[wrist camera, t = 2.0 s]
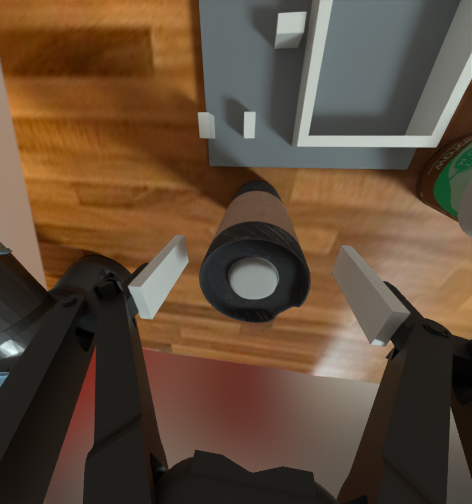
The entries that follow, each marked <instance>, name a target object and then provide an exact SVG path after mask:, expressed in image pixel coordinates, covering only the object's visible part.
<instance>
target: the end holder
mask: <svg viewBox="0 0 472 504" xmlns="http://www.w3.org/2000/svg"><path fill="white" fill-rule="evenodd" d="M332 3H333V0H312V7H311V14H310V21H309V28H308V35H307V42H306V48H305V55H304V62H303V69H302V76H301V83H300V90H299V97H298V104H297V111H296V118H295V125H294V132H293V139H292V146H297V147H437V146H438V144H439V142H440V140H441V138H442V136H443V134H444V132H445V130H446V128H447V126H448V124H449V122H450V120H451V118H452V116H453V114H454V112H455V110H456V108H457V106H458V104H459V102H460V100H461V98H462V96H463V94H464V92H465V91H466V89H467V87H468V85H469V83H470V81H471V79H472V0H461V1H460V4H459V6H458V8H457V11H456V13H455V16H454V18H453V20H452V23H451V25H450V28H449V30H448V32H447V35H446V37H445V40H444V42H443V44H442V47H441V49H440V52H439V54H438V57H437V59H436V61H435V64H434V66H433V69H432V71H431V73H430V76H429V78H428V81H427V83H426V85H425V88H424V90H423V93H422V95H421V97H420V100H419V102H418V105H417V107H416V109H415V112H414V114H413V117H412V119H411V121H410V124H409V126H408V129H407V131H406V133H405V136H308V135H309V130H310V124H311V119H312V113H313V108H314V102H315V97H316V91H317V85H318V80H319V74H320V69H321V63H322V58H323V52H324V47H325V41H326V36H327V30H328V25H329V19H330V14H331V8H332Z"/></svg>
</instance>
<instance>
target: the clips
mask: <svg viewBox="0 0 472 504" xmlns="http://www.w3.org/2000/svg"><path fill="white" fill-rule="evenodd" d="M306 13H307V12H291V13H278V20H277V27H276V35H275V47H274V49H283V48H298V46H299V43H300V41H301V38H302V36H303V33H304V28H305V21H306ZM198 121H199V133H200V138H205V139H215V124H214V116H213V115H212V114H210V113H209V112H198ZM255 122H256V113H255V112H244V138H245V139H255Z"/></svg>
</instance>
